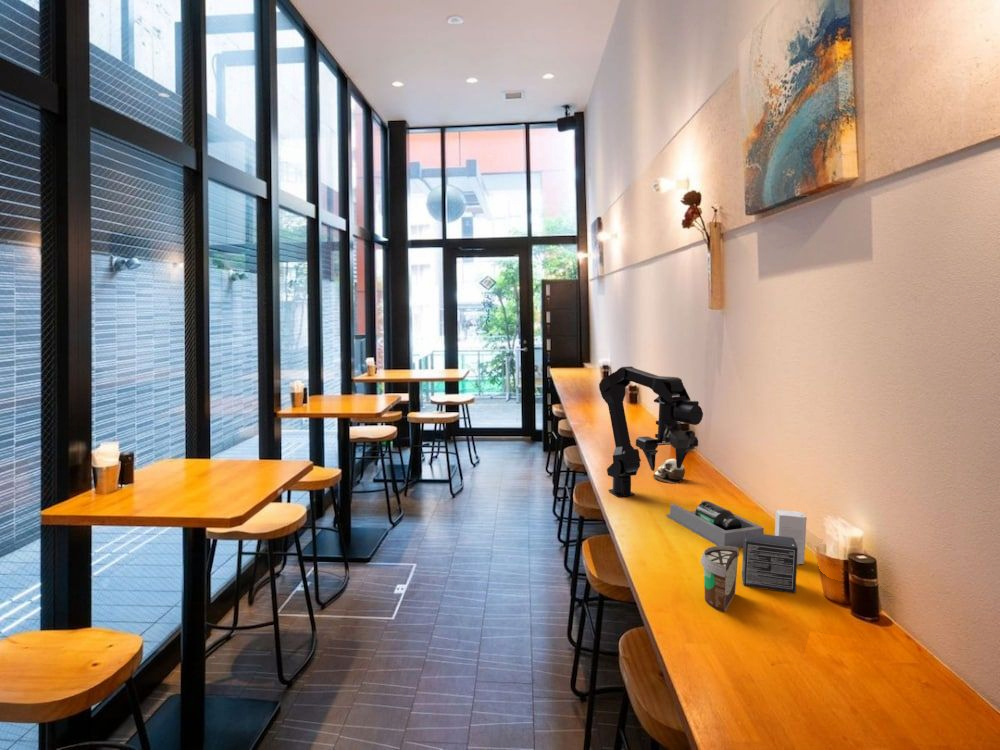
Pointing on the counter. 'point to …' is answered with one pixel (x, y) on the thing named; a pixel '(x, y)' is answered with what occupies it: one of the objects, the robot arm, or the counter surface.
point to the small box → (769, 562)
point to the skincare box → (792, 529)
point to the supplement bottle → (718, 516)
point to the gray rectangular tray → (713, 527)
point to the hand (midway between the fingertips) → (665, 469)
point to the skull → (670, 472)
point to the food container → (720, 575)
